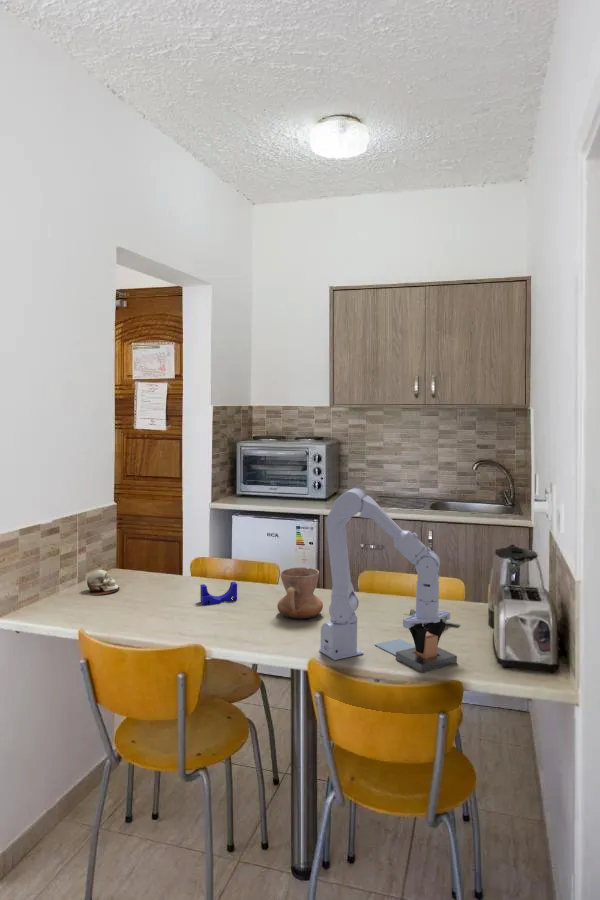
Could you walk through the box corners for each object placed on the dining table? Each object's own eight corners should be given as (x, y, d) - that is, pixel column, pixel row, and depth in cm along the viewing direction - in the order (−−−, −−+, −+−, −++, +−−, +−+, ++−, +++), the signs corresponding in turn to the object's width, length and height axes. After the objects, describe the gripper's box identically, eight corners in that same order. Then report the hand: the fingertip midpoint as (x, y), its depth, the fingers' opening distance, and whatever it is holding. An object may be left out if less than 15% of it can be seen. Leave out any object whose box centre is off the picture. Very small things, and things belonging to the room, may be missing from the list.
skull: (123, 582, 241) (119, 567, 234) (118, 607, 234) (114, 592, 227) (90, 582, 241) (85, 566, 233) (84, 606, 233) (79, 591, 226)
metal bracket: (441, 616, 190) (397, 606, 200) (437, 637, 189) (394, 625, 199) (463, 619, 200) (421, 609, 210) (460, 638, 200) (418, 627, 210)
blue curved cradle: (203, 605, 218) (203, 588, 217) (200, 602, 222) (200, 584, 221) (238, 602, 222) (238, 585, 221) (234, 598, 226) (234, 581, 226)
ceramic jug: (289, 605, 219) (289, 563, 218) (330, 609, 213) (330, 567, 212) (266, 622, 202) (266, 576, 201) (310, 627, 197) (309, 581, 195)
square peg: (425, 665, 167) (426, 638, 167) (415, 660, 171) (415, 634, 170) (437, 662, 170) (437, 635, 169) (426, 657, 173) (427, 631, 173)
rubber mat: (395, 655, 174) (395, 654, 174) (374, 645, 182) (374, 644, 182) (421, 649, 179) (421, 648, 179) (399, 639, 186) (399, 638, 186)
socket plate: (421, 672, 163) (421, 664, 163) (395, 659, 171) (395, 651, 171) (456, 663, 169) (456, 655, 169) (430, 651, 178) (430, 643, 177)
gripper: (416, 607, 162) (415, 660, 163) (459, 598, 170) (457, 650, 170) (397, 599, 168) (397, 651, 169) (439, 592, 176) (438, 641, 176)
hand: (426, 650), depth 170 cm, fingers closed on square peg, 4 cm apart
